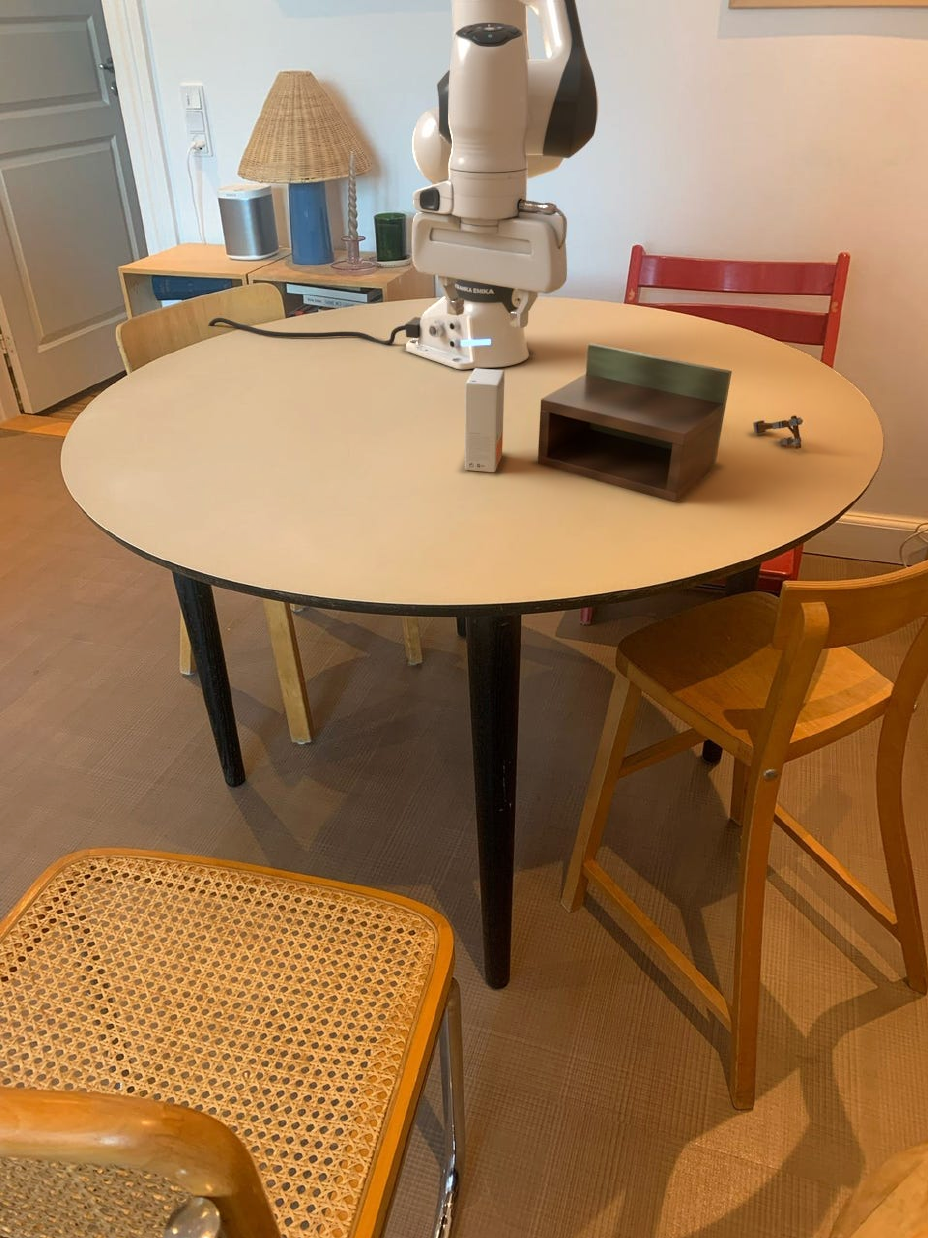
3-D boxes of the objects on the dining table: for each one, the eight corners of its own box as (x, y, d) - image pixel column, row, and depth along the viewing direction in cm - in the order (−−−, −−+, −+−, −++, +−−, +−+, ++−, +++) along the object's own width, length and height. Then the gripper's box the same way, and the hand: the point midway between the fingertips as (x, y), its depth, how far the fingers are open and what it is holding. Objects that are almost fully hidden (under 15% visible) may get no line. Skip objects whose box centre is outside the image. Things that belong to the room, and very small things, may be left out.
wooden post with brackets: (800, 449, 119) (796, 415, 117) (756, 452, 126) (753, 420, 125) (809, 446, 119) (806, 413, 118) (765, 449, 126) (762, 418, 125)
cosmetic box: (496, 473, 115) (497, 385, 108) (464, 470, 115) (464, 382, 109) (503, 454, 120) (505, 369, 113) (473, 452, 120) (473, 367, 113)
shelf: (537, 463, 117) (542, 368, 110) (584, 432, 126) (591, 342, 119) (675, 502, 108) (690, 401, 100) (715, 465, 116) (732, 370, 109)
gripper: (581, 200, 96) (573, 327, 104) (433, 185, 106) (436, 302, 114) (552, 209, 92) (546, 340, 99) (401, 191, 101) (406, 312, 109)
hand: (486, 319), depth 107 cm, fingers open, 8 cm apart
